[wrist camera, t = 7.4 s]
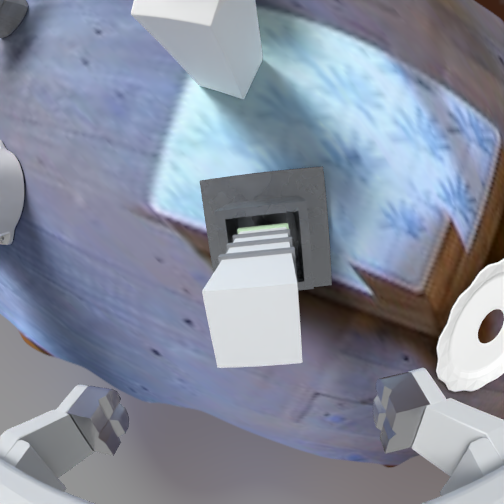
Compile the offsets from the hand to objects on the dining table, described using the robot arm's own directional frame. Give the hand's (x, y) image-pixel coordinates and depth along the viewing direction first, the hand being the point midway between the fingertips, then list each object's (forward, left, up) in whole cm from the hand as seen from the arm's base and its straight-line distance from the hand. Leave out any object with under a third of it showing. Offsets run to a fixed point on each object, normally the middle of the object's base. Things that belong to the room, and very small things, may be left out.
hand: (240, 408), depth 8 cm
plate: (+36, -19, -29) cm, 50 cm away
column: (0, 0, -21) cm, 21 cm away
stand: (0, 0, -28) cm, 28 cm away
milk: (-2, +20, -28) cm, 35 cm away
